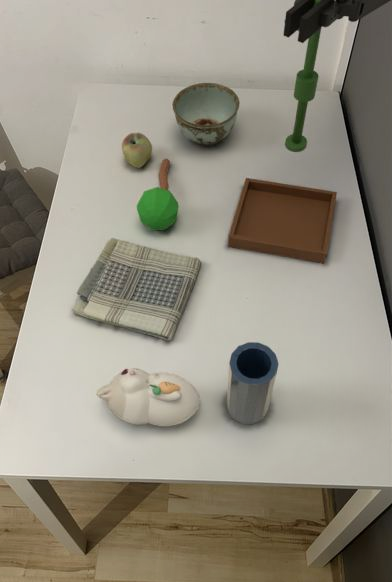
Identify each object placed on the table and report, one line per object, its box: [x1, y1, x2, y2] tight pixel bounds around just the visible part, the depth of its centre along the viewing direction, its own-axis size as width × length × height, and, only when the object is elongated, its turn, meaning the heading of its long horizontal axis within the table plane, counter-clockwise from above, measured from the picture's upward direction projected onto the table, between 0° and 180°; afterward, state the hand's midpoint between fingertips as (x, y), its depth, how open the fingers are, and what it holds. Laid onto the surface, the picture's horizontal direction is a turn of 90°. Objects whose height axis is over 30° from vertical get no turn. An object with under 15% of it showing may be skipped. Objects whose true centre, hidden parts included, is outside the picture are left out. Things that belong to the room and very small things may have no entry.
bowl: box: [171, 82, 240, 147], centre depth 104 cm, size 14×13×8 cm
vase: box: [226, 341, 279, 425], centre depth 70 cm, size 6×6×14 cm
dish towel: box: [72, 237, 202, 342], centre depth 86 cm, size 19×18×3 cm
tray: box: [227, 177, 338, 264], centre depth 93 cm, size 18×16×3 cm
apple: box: [121, 132, 153, 169], centre depth 102 cm, size 6×8×6 cm
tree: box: [136, 157, 180, 231], centre depth 96 cm, size 8×8×20 cm
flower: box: [284, 0, 323, 153], centre depth 66 cm, size 7×5×32 cm
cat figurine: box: [96, 368, 201, 427], centre depth 73 cm, size 10×8×15 cm
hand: (294, 27), depth 60 cm, fingers closed on flower
